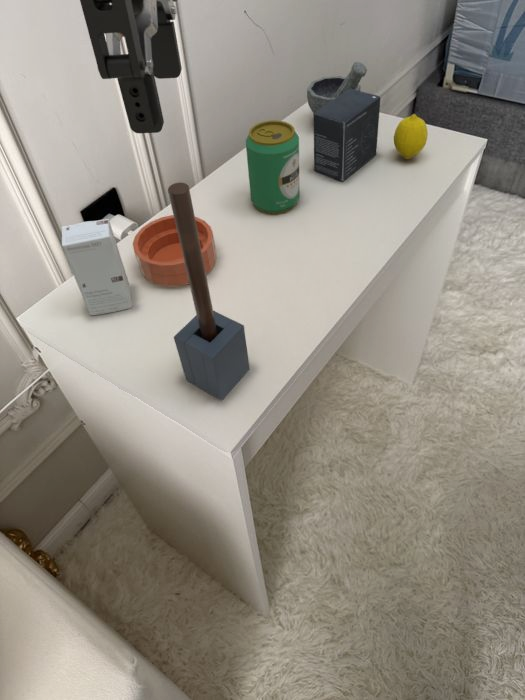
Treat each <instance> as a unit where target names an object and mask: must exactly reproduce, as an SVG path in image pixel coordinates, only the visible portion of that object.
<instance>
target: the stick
mask: <svg viewBox="0 0 525 700" xmlns="http://www.w3.org/2000/svg"><path fill="white" fill-rule="evenodd" d="M167 193H168V197H169V198H168V199H169V202H170V207H171V211H172V215H174V219H175V224H176V228H177V232H178V237H179V241H180V245H181V250H182V254H183V258H184V263H185V267H186V271H187V276H188V280H189V289H190V292H191V293H190V294H191V296H192V302H193V305H194V310H195V314H196V315H197V319H198V323H199V328H200V332H201V336H202V339H204V340H206V341H208V342H211V341H212V340H213V339H214V338H215V337H216V336H217V335H218V334H217V328H216V323H215V318H214V313H213V311H214V308H213V303H212V298H211V293H210V289H209V281H208V278H207V274H206V272H205V267H204V262H203V257H202V251H201V246H200V241H199V236H198V231H197V226H196V221H195V217H196V215H195V211H194V206H193V202H192V196H191V190H190V186H189V185H188V184H187V183H185V182H175V183H172V184H170V185H169V186H168V187H167ZM196 315H195V316H196Z"/></svg>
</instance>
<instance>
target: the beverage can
mask: <svg viewBox="0 0 525 700" xmlns="http://www.w3.org/2000/svg"><path fill="white" fill-rule="evenodd" d="M245 149H246V151H245V152H246V161H247V162H246V163H247V172H248V182H249V193H250V200H251V203H252V204H253V205H254V207H255V209H257V210H258V211H260V212H261V213H264V214H267V215H280V214H285V213H287V212H290V211H291V210H292V209H294V208H295V207H296V205H297V202H298V200H299V199H300V137H299V136H298V134H297V132H296V130H295V127H294V126H293V125H292V124H291V123H289V122H287V121H283V120H277V119H276V120H265V121H261V122H259V123H256V124H254V125H253V126H251V128H250V129H249V131H248V135H247V137H246V139H245Z"/></svg>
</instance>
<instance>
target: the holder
mask: <svg viewBox="0 0 525 700" xmlns="http://www.w3.org/2000/svg"><path fill="white" fill-rule="evenodd" d="M213 313H214V318H215V323H216V328H217V334H218V335H217V336H216V337H215V338H214V339H213V340H212V341H211V342H208V341H206V340H204V339H202V336H201V332H200V328H199V323H198V319H197V315H195V316H194V317H193V318H191V319H190V321H188V322H187V323H186V324H185V326H183V327H182V328H181V329H180V330H179V331H178V332H177V333H176V334H175V335H174V336H173V341H174V343H175V347H176V351H177V354H178V357H179V360H180V364H181V368H182V371H183V375H184V378H185V381H187V382H189V383H190V384H192V385H194V386H195V387H197V388H199V389H201V390H202V391H204V392H206V393H208V394H209V395H211V396H212V397H214V398H216V399H218V400H220V401H221V402H222V401H223V400H224V399H225V398H226V397H227V396H228V395H229V393H230V392H231V391H232V390H233V389H234V388H235V387H236V386H237V384H239V382H240V381H241V380H242V378H244V376H245V375H246V374H247V373H248V372H249V371H250V370H251V369H250V368H251V367H250V361H249V360H250V359H249V353H248V346H247V339H246V332H245V325H244V324H242V323H240V322H239V321H236V320H234V319H232V318H230V317H228V316H226V315H223V314H222V313H219V312H217V311H216V310H213Z"/></svg>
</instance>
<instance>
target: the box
mask: <svg viewBox="0 0 525 700" xmlns="http://www.w3.org/2000/svg"><path fill="white" fill-rule="evenodd" d="M380 109H381V95H377V94H374V93H369V92H365V91H361V90H360V91H357V90H353V89H348V90H347V91H346V92H344V93H343V94H341V95H340V96H338V97H337V98H335V99H334V100H332V101H331V102H329V103H328V104H326V105H325V106H323V107H322V108H320V109H319V110H317V111H316V112H314V113H313V112H312V115H313V117H312V118H313V171H315V172H317V173H320V174H322V175H325V176H327V177H330V178H333V179H335V180H338V181H340V182H344V181H346V180H347V179H348V178H349V177H351V175H353V174H354V173H355V172H356V171H359V169H360V168H362V167H363V166H364V165H365V164H366V163H368V162H369V161H370V160H371V159H373V158H374V157H375V156H376V155H377V150H378V149H377V148H378V137H379V123H380V111H381V110H380Z"/></svg>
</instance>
